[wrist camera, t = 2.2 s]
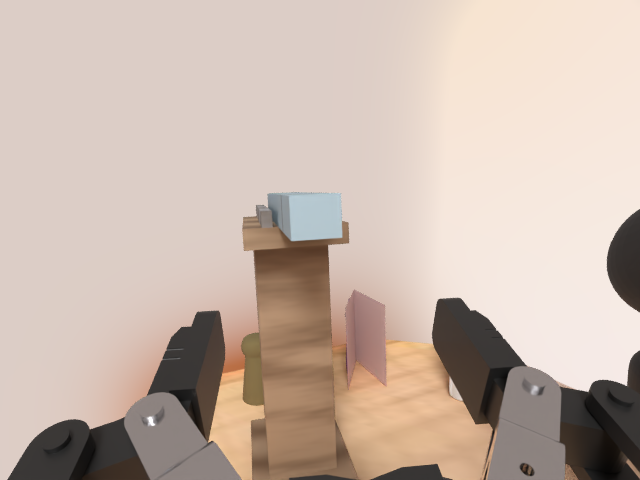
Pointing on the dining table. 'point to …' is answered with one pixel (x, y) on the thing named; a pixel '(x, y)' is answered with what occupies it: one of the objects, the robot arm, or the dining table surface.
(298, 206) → the light blue block
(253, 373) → the cork
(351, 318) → the greeting card
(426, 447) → the dining table surface
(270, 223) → the dispenser stand
